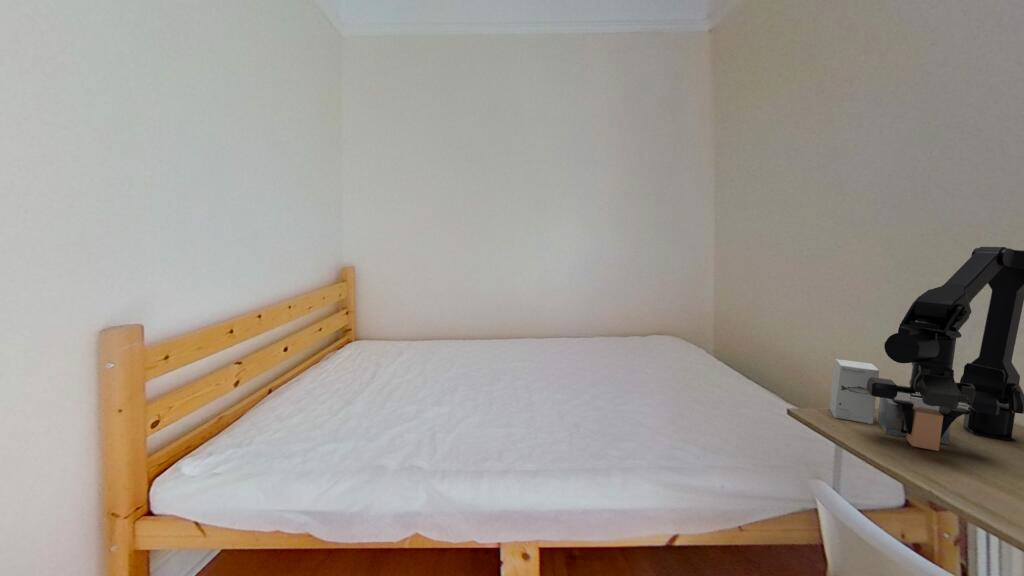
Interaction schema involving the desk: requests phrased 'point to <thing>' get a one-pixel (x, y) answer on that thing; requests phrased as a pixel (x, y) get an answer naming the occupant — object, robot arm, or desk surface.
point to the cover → (925, 428)
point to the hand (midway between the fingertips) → (923, 436)
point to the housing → (893, 418)
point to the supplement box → (852, 391)
